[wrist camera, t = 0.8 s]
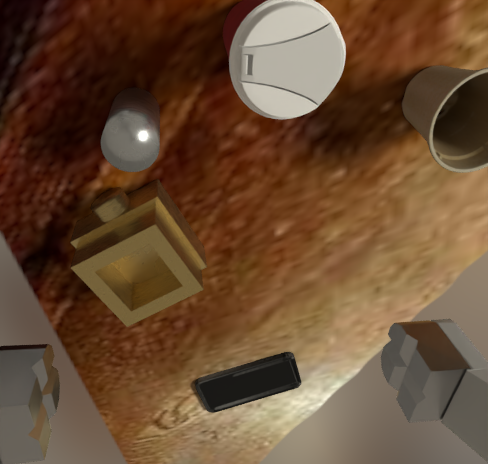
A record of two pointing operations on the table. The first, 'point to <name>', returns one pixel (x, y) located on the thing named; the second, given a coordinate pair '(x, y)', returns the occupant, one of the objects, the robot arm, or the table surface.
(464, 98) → the flower pot
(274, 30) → the paper cup
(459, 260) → the table surface
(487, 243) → the table surface
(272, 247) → the table surface
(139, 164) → the silver metal cylinder
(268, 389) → the phone
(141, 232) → the valve body
